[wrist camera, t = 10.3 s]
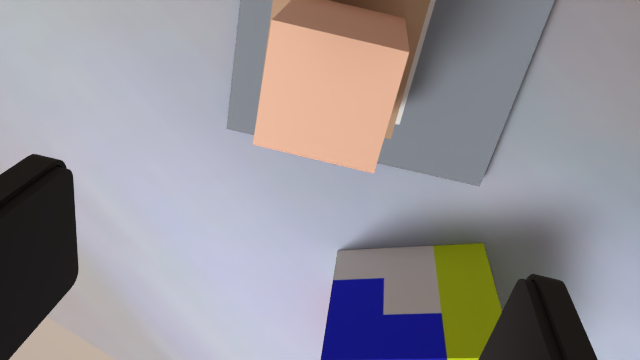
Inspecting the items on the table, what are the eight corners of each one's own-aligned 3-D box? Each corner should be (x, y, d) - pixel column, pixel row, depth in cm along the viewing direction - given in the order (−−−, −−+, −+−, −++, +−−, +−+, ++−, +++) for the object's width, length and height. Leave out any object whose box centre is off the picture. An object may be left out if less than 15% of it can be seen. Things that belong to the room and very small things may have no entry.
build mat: (556, -20, 26) (562, -17, 25) (477, 178, 32) (479, 187, 31) (254, -87, 26) (249, -86, 25) (231, 122, 32) (226, 129, 31)
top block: (405, 18, 23) (409, 52, 18) (377, 118, 26) (373, 173, 20) (298, -7, 23) (271, 19, 18) (281, 95, 26) (252, 144, 20)
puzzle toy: (337, 249, 36) (320, 360, 27) (483, 242, 34) (514, 357, 26) (354, 351, 41) (344, 473, 32) (484, 349, 39) (510, 477, 30)
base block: (425, -14, 26) (430, -1, 23) (390, 111, 30) (390, 139, 26) (292, -44, 26) (277, -35, 23) (273, 84, 30) (258, 109, 26)
